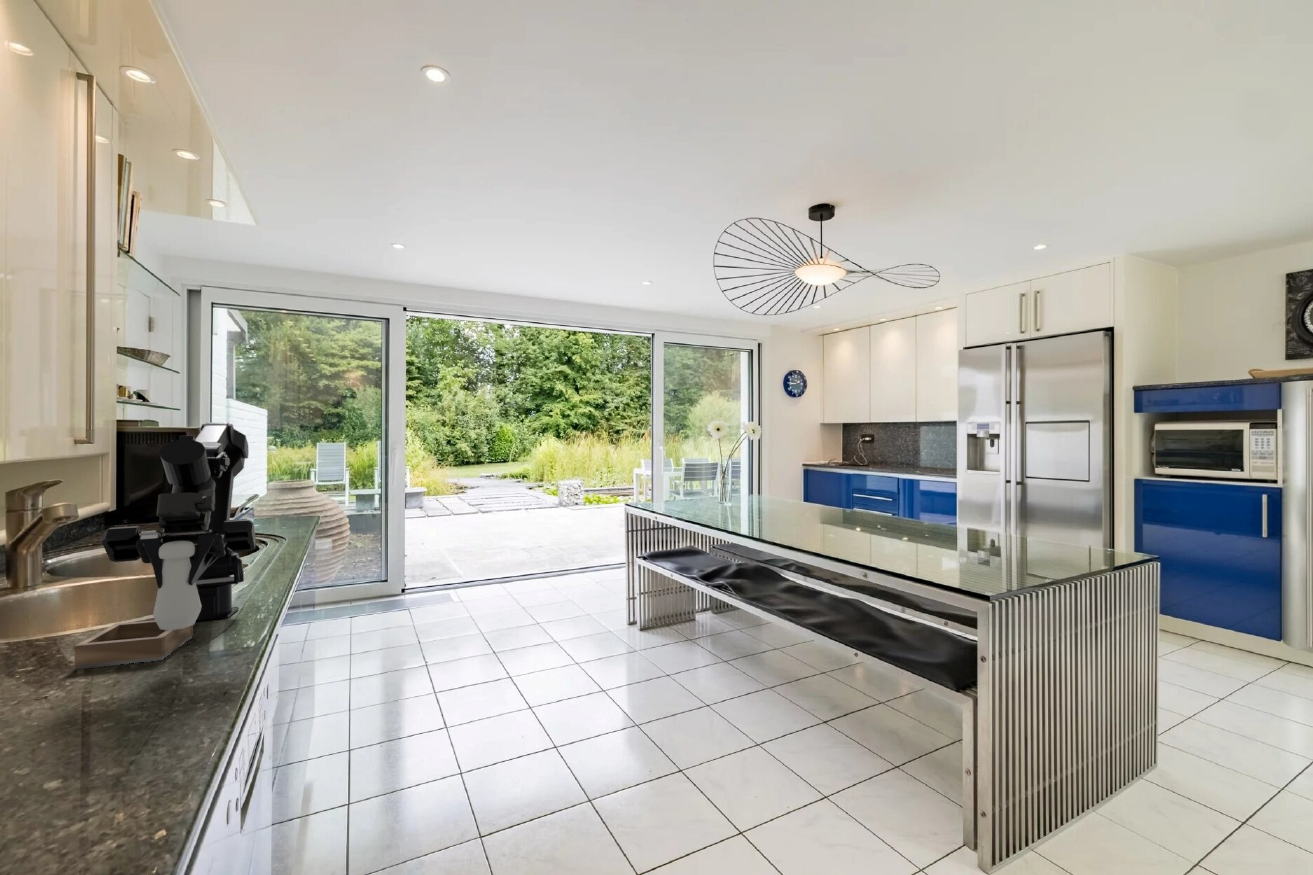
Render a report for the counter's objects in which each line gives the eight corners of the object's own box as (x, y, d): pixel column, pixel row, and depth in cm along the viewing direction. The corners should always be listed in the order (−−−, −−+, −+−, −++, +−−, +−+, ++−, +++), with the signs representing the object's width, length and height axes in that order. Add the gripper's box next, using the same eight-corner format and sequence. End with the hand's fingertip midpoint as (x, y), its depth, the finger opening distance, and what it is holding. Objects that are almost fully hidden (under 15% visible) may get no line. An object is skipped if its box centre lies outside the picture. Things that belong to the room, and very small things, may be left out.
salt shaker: (211, 620, 93) (210, 538, 93) (178, 633, 88) (177, 546, 87) (177, 619, 94) (177, 538, 94) (142, 631, 88) (142, 545, 88)
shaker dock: (115, 644, 100) (115, 623, 100) (192, 637, 103) (192, 617, 103) (74, 669, 90) (74, 645, 90) (162, 660, 93) (161, 637, 93)
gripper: (104, 475, 89) (76, 562, 80) (252, 471, 98) (243, 549, 89) (123, 519, 97) (99, 604, 87) (259, 512, 105) (251, 588, 96)
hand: (175, 585), depth 89 cm, fingers closed on salt shaker, 3 cm apart
